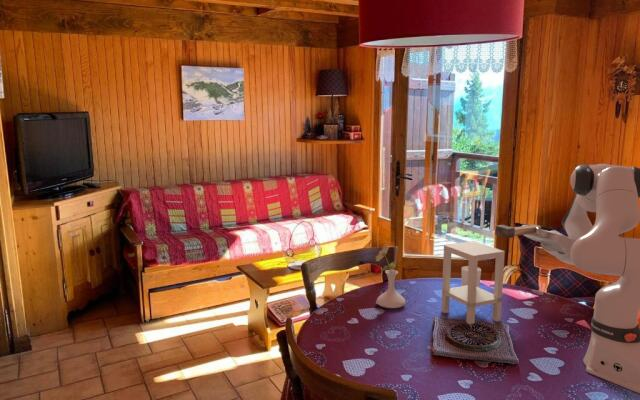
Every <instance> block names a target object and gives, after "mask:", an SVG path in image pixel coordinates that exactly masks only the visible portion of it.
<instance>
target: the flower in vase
mask: <svg viewBox="0 0 640 400" xmlns="http://www.w3.org/2000/svg"><path fill="white" fill-rule="evenodd" d="M389 249H390V246H389V245H388V244H386V245H384V246H382V248H381V250H379V252H378V254H377V255H376V256H375V261H376V262H379V261H381V260H382V259H383V258H384V257H385V260H386V263H387V265H385V266H383V267H382V269H381V272H385V274H386V275H387V279H388V286H387V289H386V290H385V291H384V292H383V293H381V294H380V295H379V296H378V297H377V299H376V300H375V301H376V303H377V305H379V306H380V307H383V308H386V309H398V308H402V307H404V306H405V305H406V302H407V301H406V299H405V297H404V296H402V295H401V294H400V293H398V292H397V290H396V289H395V280H396V276H397V275H398V273H399V271H398V270H395V268H396V261H395V260H394V261H391V263H389V261H388V258H387V256H386V254H387V253H388V250H389Z"/></svg>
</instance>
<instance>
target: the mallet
mask: <svg viewBox="0 0 640 400" xmlns="http://www.w3.org/2000/svg"><path fill="white" fill-rule="evenodd" d="M528 225H529V224H528ZM536 227H537V228H540V229H542V226H541V225H538V224H531V225H529V226H522V225H521V226H515V227H513V226H508V225H505V224H499V225H495V230H494V234H495V236H497V237H501V238H505V239H510V238H515V237H516V236H524V235H525V234H532V233H536V232H535V231H534V230H535V228H536Z"/></svg>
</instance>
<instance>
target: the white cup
mask: <svg viewBox="0 0 640 400" xmlns="http://www.w3.org/2000/svg"><path fill="white" fill-rule="evenodd" d="M481 274H482V269H481V268H480V267H478V266H477V286H476V287H479V288H480V283H481ZM465 285H468V265H465V266H461V286H465Z"/></svg>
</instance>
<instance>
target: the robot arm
mask: <svg viewBox="0 0 640 400" xmlns="http://www.w3.org/2000/svg"><path fill="white" fill-rule="evenodd" d="M570 186H571V189H572V192H574V193H575V195H574V197H573V199H572V202H571V204H570V205H569V206H570V207H569V209H568V211H567V212H566V213H565V214H564V216H563V217H562V219H561V225H562V227H563V229H564V231H565V232H566V234H567V235H564V234H562V233H560V232H559V231H557V230H550V231H549V230H546V229H542V228H541V229H540V228H537V227H536V228H535V230H534V231H535V232H536V233H532V234H525V235H523V236H524V237H526V238H528V239H530V240H532V241H536V242H540V247H541V249H543V251H545V252H547V253H548V254H550V255H551V256H554V257H555V258H556V259H558V260H559V261H560V262H563V263H565V264H567V265H572V266H575V267H576V268H577V269H578V270H580V271H584V272H589V273H590V274H591V273H593V274H596V275H597V274H598V275H605V276H606V275H607V276H618V277H619V279H617V280H616V281H615V282H613V283H612V284H609V285H606V286H603V287H601V288H600V289H599V290H598V291H597V292H596V293H595V297H594V305H593V306H594V307H593V310H594V311H593V316H592V317H591V321H590V330H591V334H590V339H589V344H588V345H587V346H588V347H587V350H586V353H585V354H584V356H583V359H582V361H583V362H582V363H584V365H585V367H586V368H585V371H586V372H587V373H589V374H591V375H593V376H595V377H598V378H601V379H603V380H605V381H608V382H610V383H612V384H615V385H617V386H621V387H622V388H625V389H627V390H630V391H632V392H636V393H638V394H640V325H639V322H638V321H639V315H640V238H634V237H622V236H619V235H621V234H623V233H627V232H629V231H632V229H634V228H635V227H637V226H638V224H639V223H640V203H639V199H640V167H637V166H626V165H625V166H624V165H618V164H617V165H616V164H608V163H598V164H580V165H577V166H576V167H575V168H574V169H573V171H572V173H571V175H570ZM588 212H590V213H595V221H594V224H592V222H591V220H590V218H589V216H588ZM521 226H529V224H522V225H521Z"/></svg>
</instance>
